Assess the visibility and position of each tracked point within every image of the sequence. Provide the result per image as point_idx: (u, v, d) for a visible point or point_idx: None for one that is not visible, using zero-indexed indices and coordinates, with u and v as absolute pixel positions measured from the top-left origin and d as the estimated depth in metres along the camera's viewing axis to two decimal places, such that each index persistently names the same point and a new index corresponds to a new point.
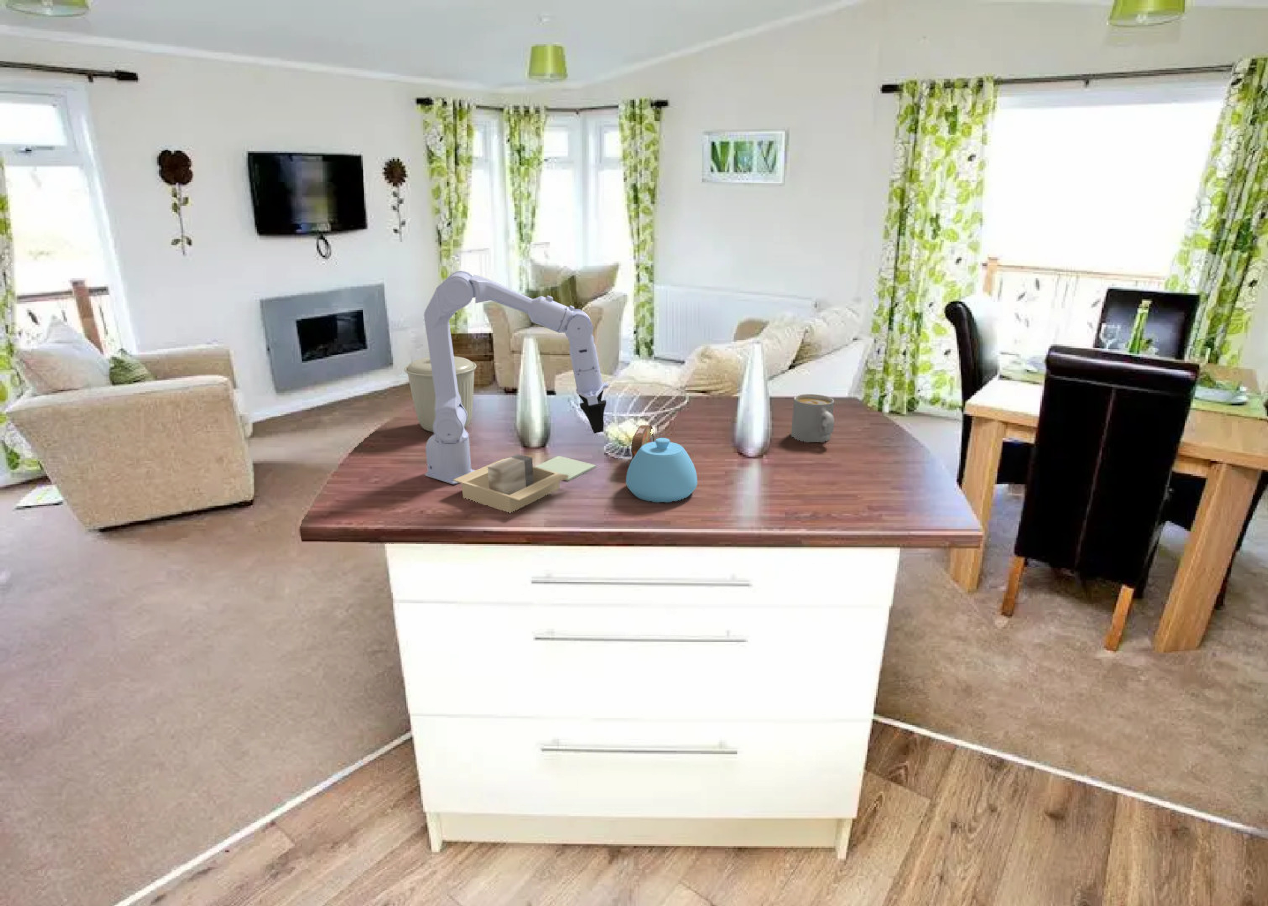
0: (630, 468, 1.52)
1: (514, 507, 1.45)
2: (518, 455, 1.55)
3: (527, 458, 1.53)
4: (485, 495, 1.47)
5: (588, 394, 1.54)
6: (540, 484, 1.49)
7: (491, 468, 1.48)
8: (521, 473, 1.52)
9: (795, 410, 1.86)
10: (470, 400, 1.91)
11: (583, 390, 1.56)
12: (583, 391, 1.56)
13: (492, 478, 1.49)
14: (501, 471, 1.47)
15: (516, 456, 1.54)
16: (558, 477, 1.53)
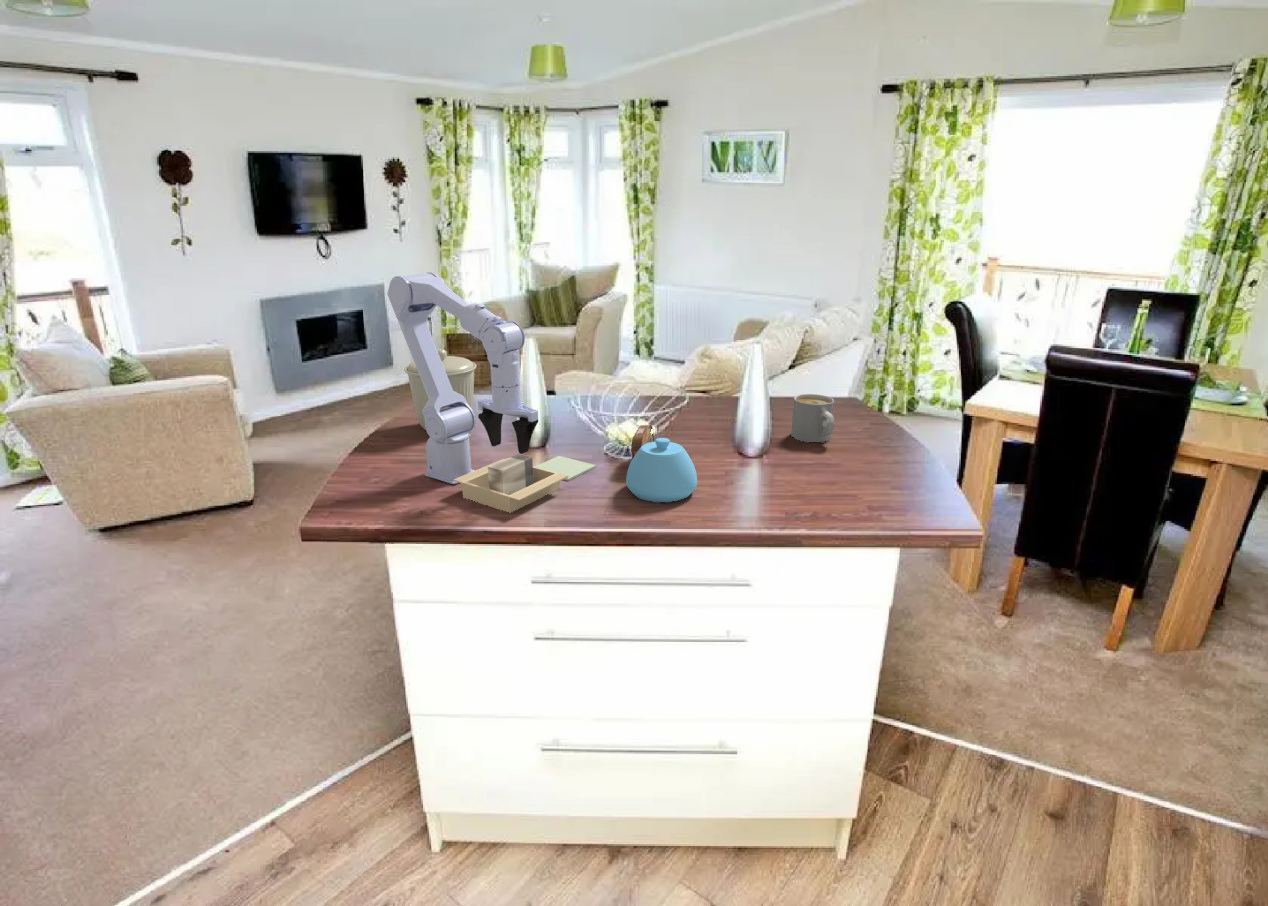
0: (630, 468, 1.52)
1: (514, 507, 1.45)
2: (518, 455, 1.55)
3: (527, 458, 1.53)
4: (485, 495, 1.47)
5: None
6: (540, 484, 1.49)
7: (491, 468, 1.48)
8: (521, 473, 1.52)
9: (795, 410, 1.86)
10: (470, 400, 1.91)
11: (511, 408, 1.45)
12: (511, 409, 1.45)
13: (492, 478, 1.49)
14: (501, 471, 1.47)
15: (516, 456, 1.54)
16: (558, 477, 1.53)
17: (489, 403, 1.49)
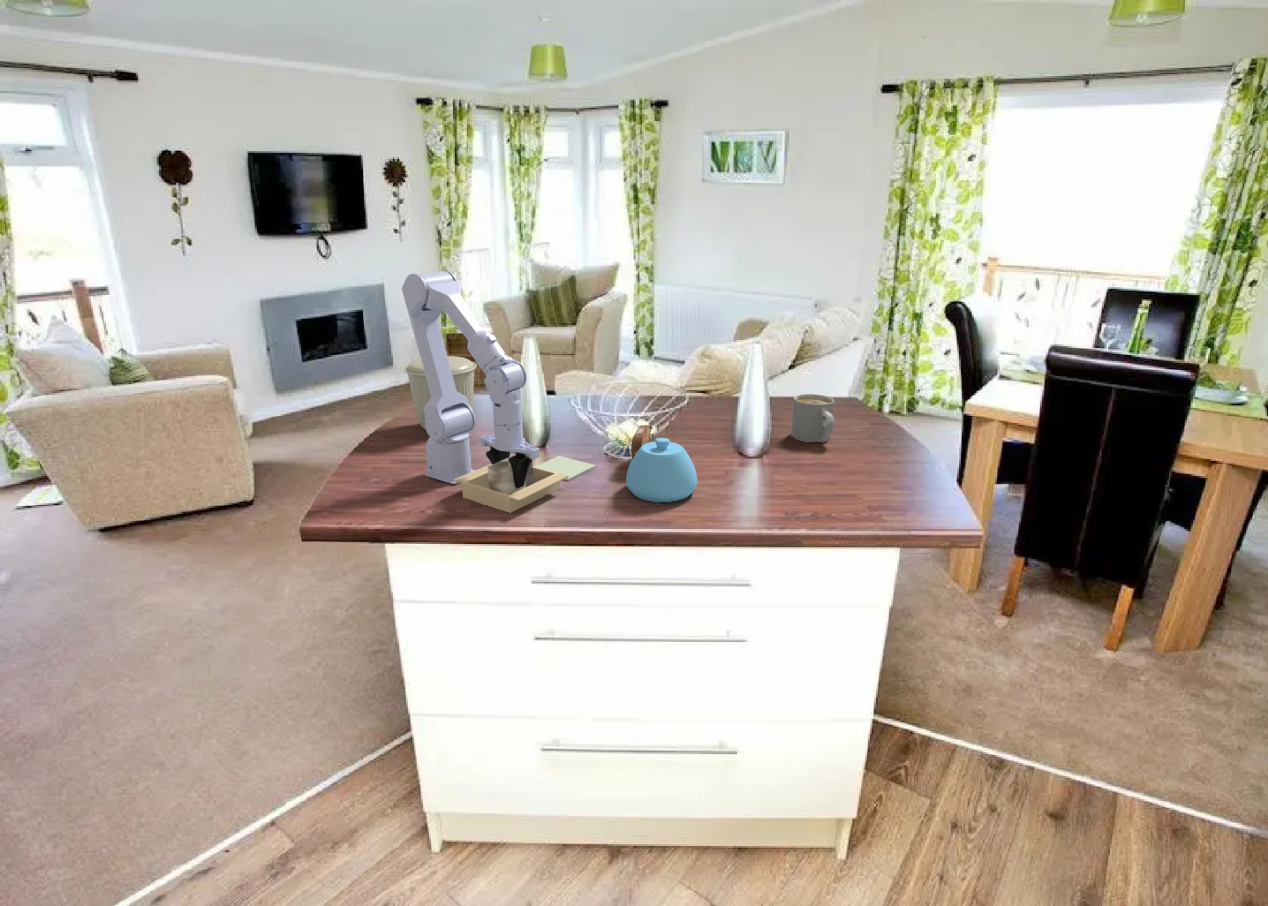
0: (630, 468, 1.52)
1: (514, 507, 1.45)
2: None
3: None
4: (485, 495, 1.47)
5: (524, 449, 1.47)
6: (540, 484, 1.49)
7: (491, 468, 1.48)
8: None
9: (795, 410, 1.86)
10: (470, 400, 1.91)
11: (513, 446, 1.47)
12: (513, 447, 1.47)
13: (492, 478, 1.49)
14: (501, 471, 1.47)
15: None
16: (558, 477, 1.53)
17: (491, 440, 1.52)
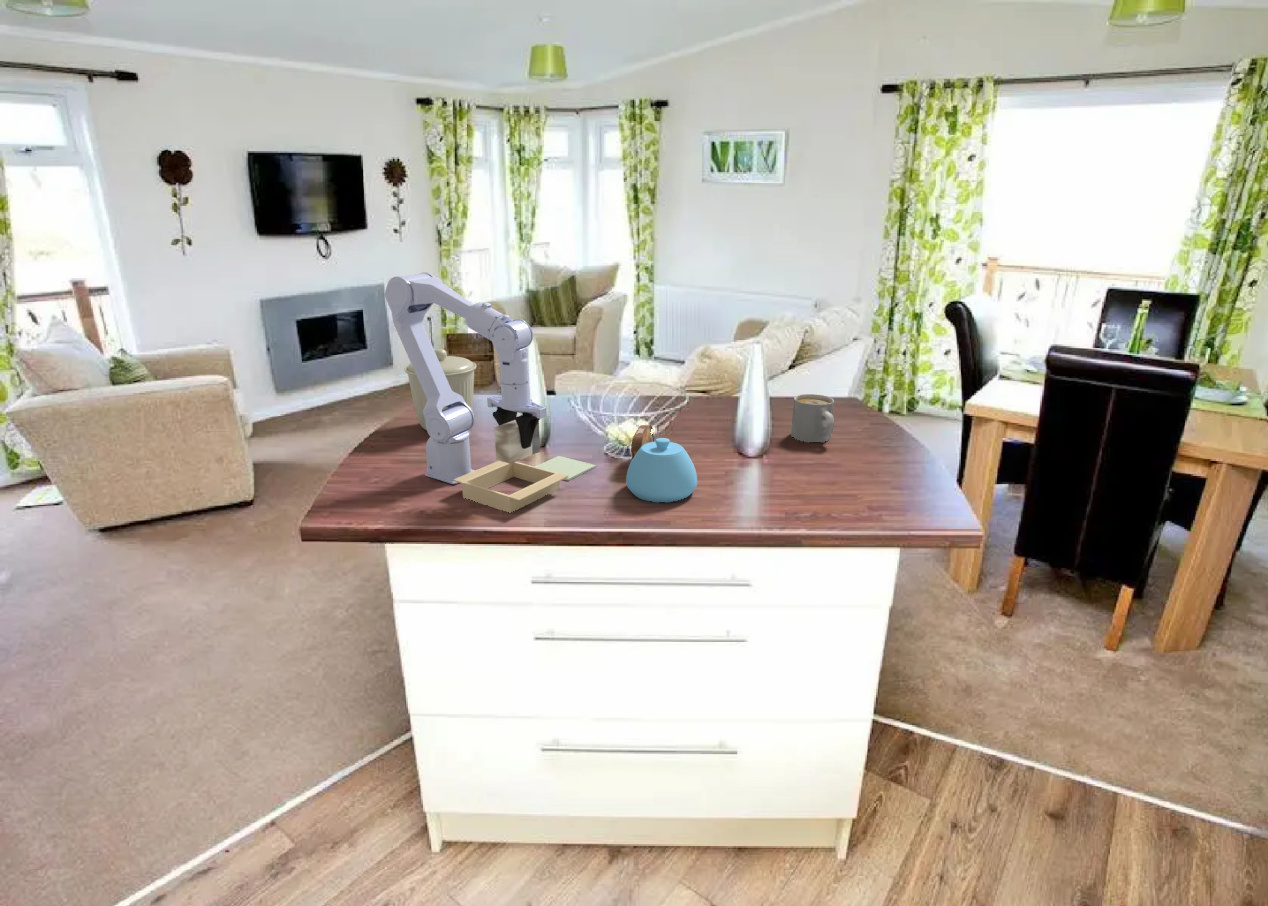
0: (630, 468, 1.52)
1: (514, 507, 1.45)
2: None
3: None
4: (485, 495, 1.47)
5: (531, 408, 1.46)
6: (540, 484, 1.49)
7: (498, 429, 1.48)
8: None
9: (795, 410, 1.86)
10: (470, 400, 1.91)
11: (520, 405, 1.47)
12: (520, 406, 1.47)
13: (499, 439, 1.48)
14: (508, 431, 1.46)
15: None
16: (558, 477, 1.53)
17: (498, 400, 1.51)
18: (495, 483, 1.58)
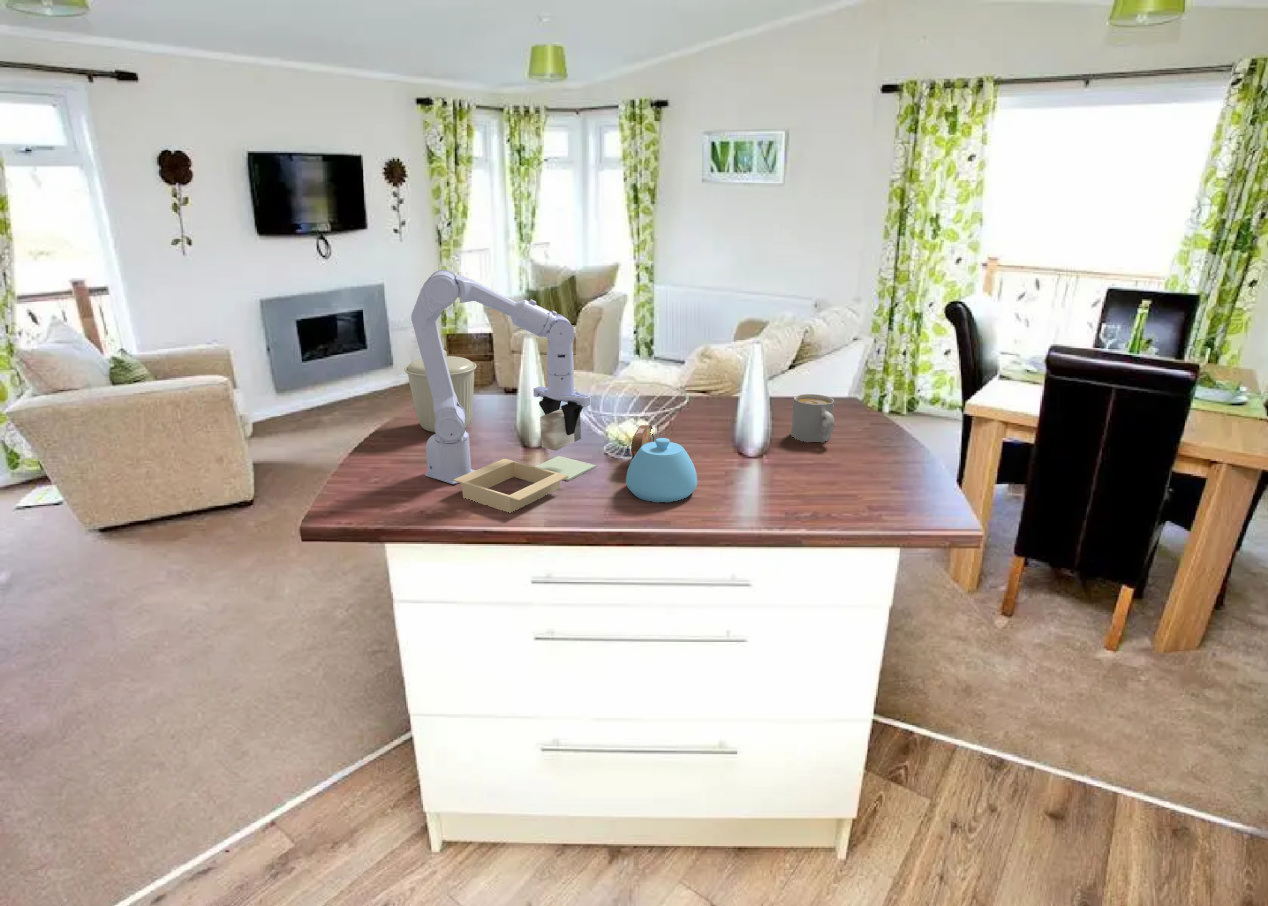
0: (630, 468, 1.52)
1: (514, 507, 1.45)
2: None
3: None
4: (485, 495, 1.47)
5: None
6: (540, 484, 1.49)
7: (543, 418, 1.59)
8: None
9: (795, 410, 1.86)
10: (470, 400, 1.91)
11: (565, 394, 1.58)
12: (565, 395, 1.58)
13: (544, 427, 1.60)
14: (553, 421, 1.58)
15: None
16: (558, 477, 1.53)
17: (544, 390, 1.63)
18: (495, 483, 1.58)
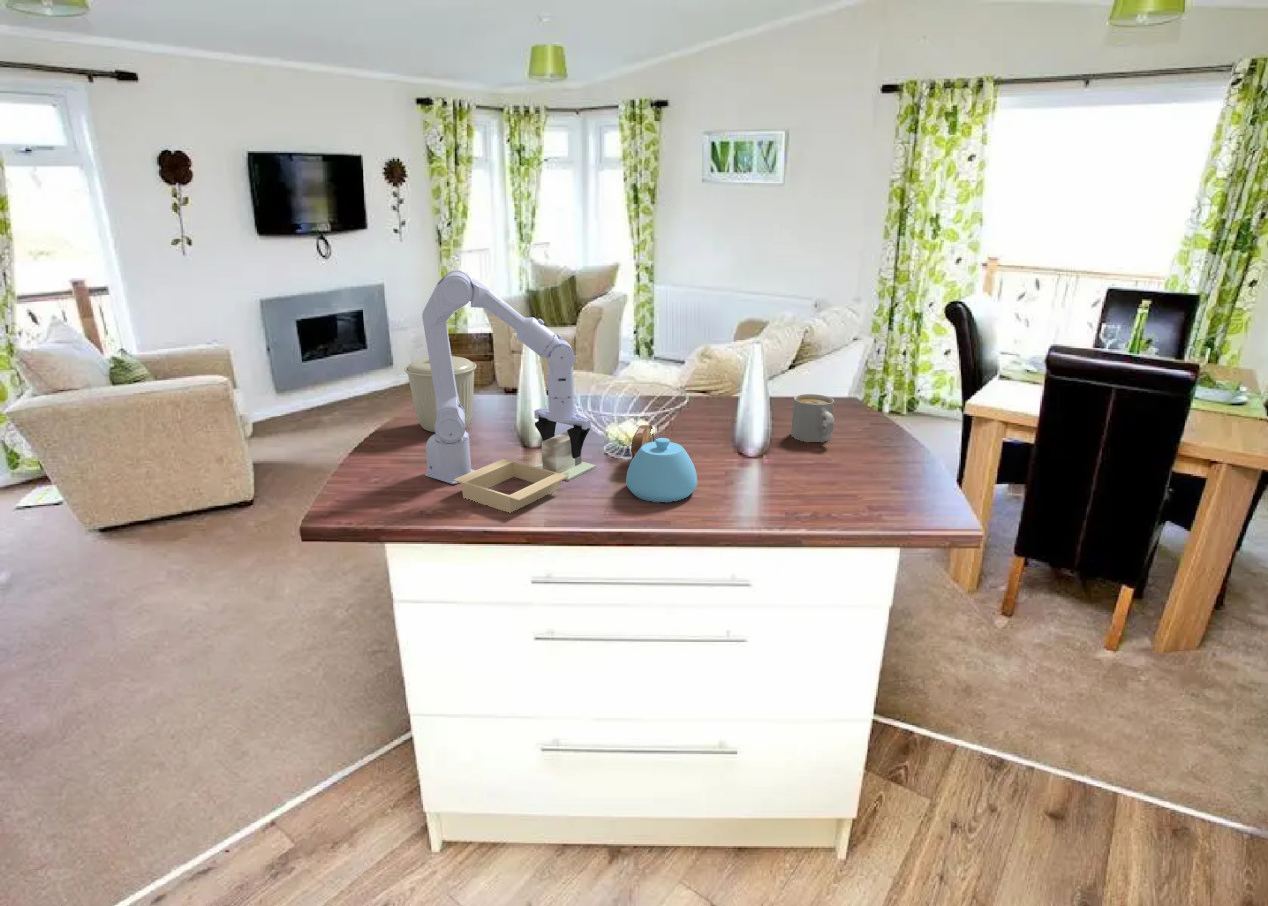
0: (630, 468, 1.52)
1: (514, 507, 1.45)
2: (567, 432, 1.68)
3: None
4: (485, 495, 1.47)
5: (577, 420, 1.60)
6: (540, 484, 1.49)
7: (545, 443, 1.61)
8: None
9: (795, 410, 1.86)
10: (470, 400, 1.91)
11: (566, 417, 1.60)
12: (566, 418, 1.60)
13: (545, 452, 1.62)
14: (554, 446, 1.60)
15: (566, 433, 1.67)
16: (558, 477, 1.53)
17: (545, 412, 1.64)
18: (495, 483, 1.58)
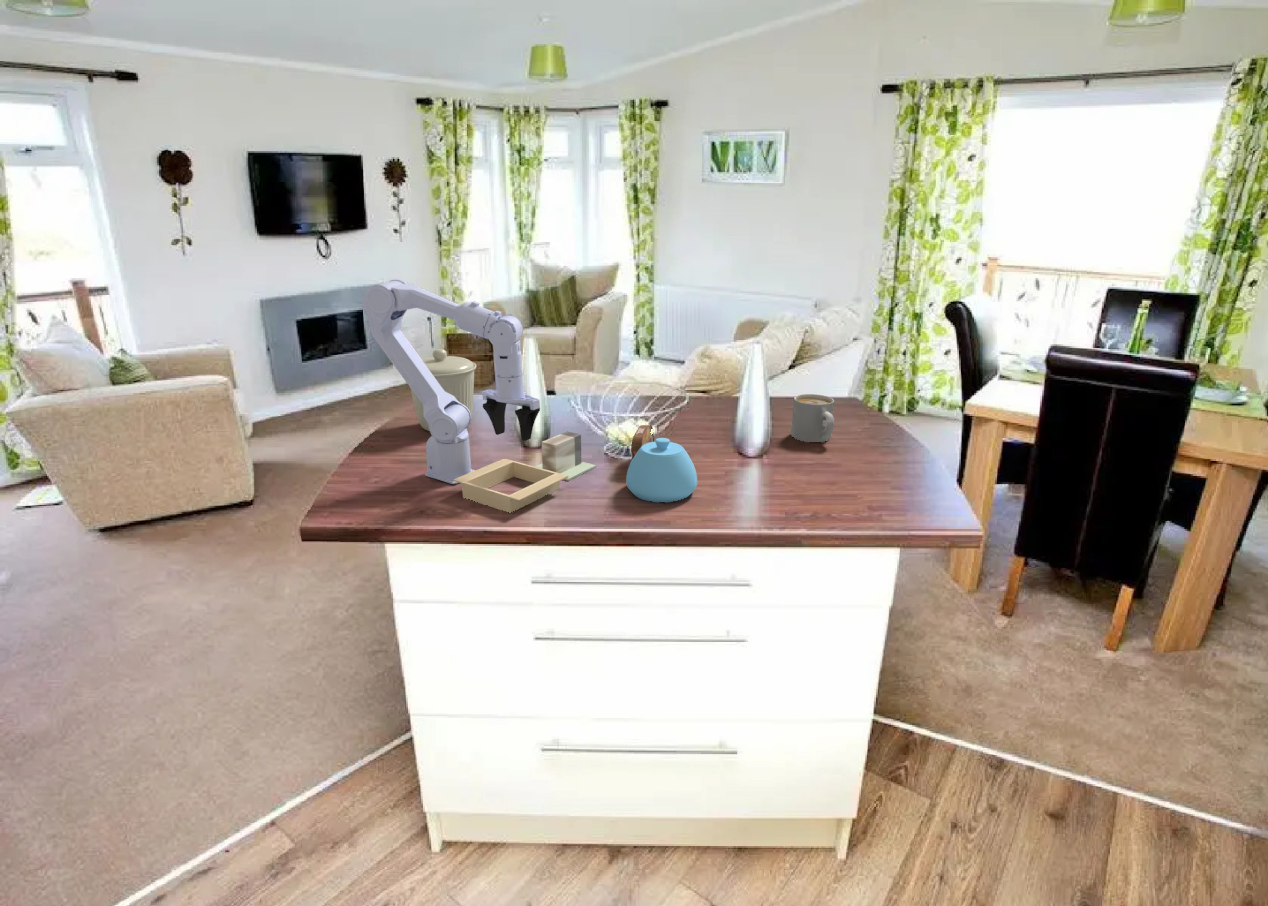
0: (630, 468, 1.52)
1: (514, 507, 1.45)
2: (567, 432, 1.68)
3: (576, 435, 1.66)
4: (485, 495, 1.47)
5: (525, 400, 1.51)
6: (540, 484, 1.49)
7: (545, 443, 1.61)
8: (571, 448, 1.65)
9: (795, 410, 1.86)
10: (470, 400, 1.91)
11: (514, 397, 1.52)
12: (514, 398, 1.52)
13: (545, 452, 1.62)
14: (554, 446, 1.60)
15: (566, 433, 1.67)
16: (558, 477, 1.53)
17: (493, 393, 1.56)
18: (495, 483, 1.58)
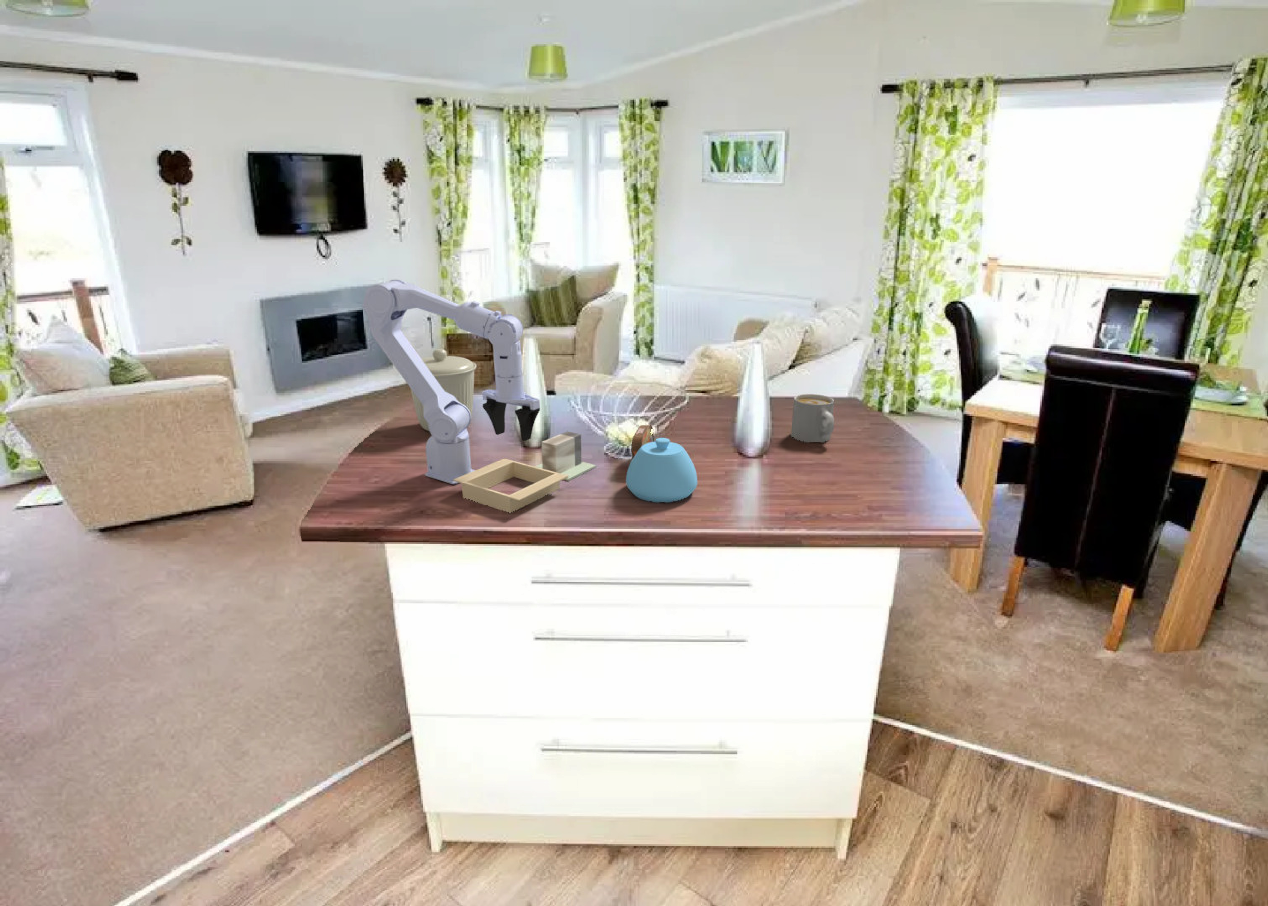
0: (630, 468, 1.52)
1: (514, 507, 1.45)
2: (567, 432, 1.68)
3: (576, 435, 1.66)
4: (485, 495, 1.47)
5: (525, 400, 1.51)
6: (540, 484, 1.49)
7: (545, 443, 1.61)
8: (571, 448, 1.65)
9: (795, 410, 1.86)
10: (470, 400, 1.91)
11: (514, 397, 1.52)
12: (514, 398, 1.52)
13: (545, 452, 1.62)
14: (554, 446, 1.60)
15: (566, 433, 1.67)
16: (558, 477, 1.53)
17: (493, 393, 1.56)
18: (495, 483, 1.58)
